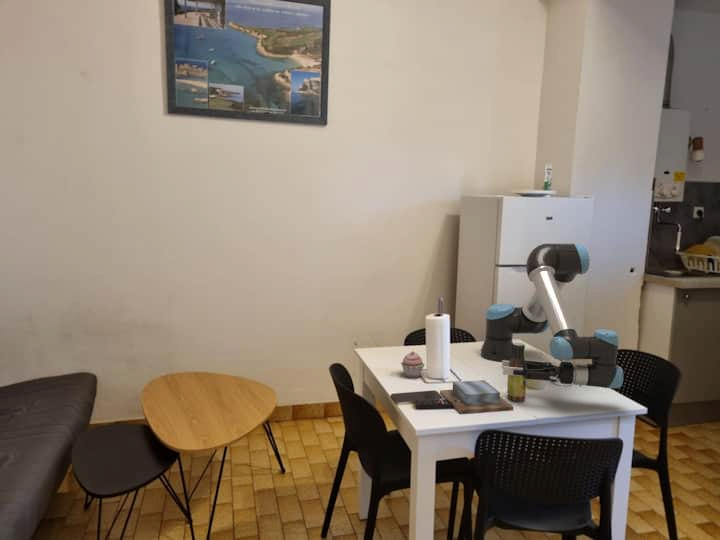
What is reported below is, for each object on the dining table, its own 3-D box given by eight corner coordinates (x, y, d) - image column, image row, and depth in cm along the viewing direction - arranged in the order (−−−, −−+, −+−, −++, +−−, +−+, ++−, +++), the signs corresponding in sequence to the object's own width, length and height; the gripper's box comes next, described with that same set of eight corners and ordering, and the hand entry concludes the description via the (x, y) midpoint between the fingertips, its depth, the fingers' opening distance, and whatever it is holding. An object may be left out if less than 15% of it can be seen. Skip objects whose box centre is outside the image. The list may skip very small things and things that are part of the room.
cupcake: (395, 375, 204) (396, 351, 202) (409, 370, 211) (410, 346, 209) (414, 381, 198) (415, 356, 196) (428, 375, 205) (429, 351, 203)
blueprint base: (488, 390, 190) (489, 376, 189) (513, 410, 172) (514, 395, 172) (439, 393, 186) (440, 379, 185) (459, 414, 168) (460, 398, 168)
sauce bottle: (526, 403, 178) (529, 347, 175) (507, 401, 180) (510, 346, 177) (524, 395, 185) (527, 342, 182) (506, 394, 186) (509, 341, 183)
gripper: (576, 394, 168) (503, 386, 173) (567, 374, 187) (500, 369, 192) (578, 371, 167) (504, 365, 172) (568, 354, 186) (502, 349, 191)
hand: (502, 367), depth 182 cm, fingers closed on sauce bottle, 6 cm apart
